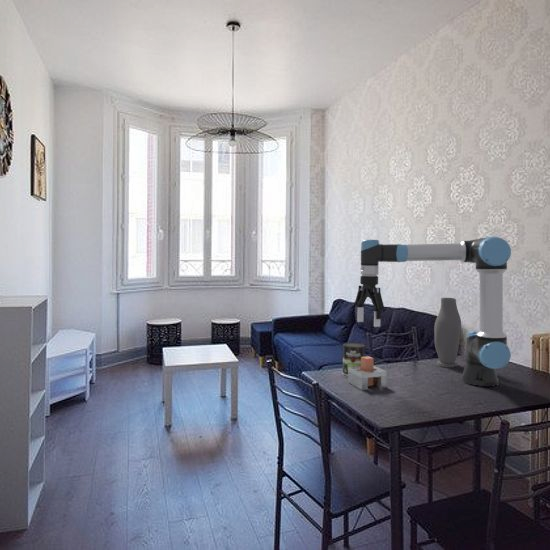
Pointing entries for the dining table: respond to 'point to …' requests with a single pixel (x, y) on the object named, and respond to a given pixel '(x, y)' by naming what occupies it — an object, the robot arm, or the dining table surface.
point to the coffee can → (352, 355)
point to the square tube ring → (366, 377)
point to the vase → (447, 333)
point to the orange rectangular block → (367, 367)
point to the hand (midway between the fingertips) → (368, 324)
